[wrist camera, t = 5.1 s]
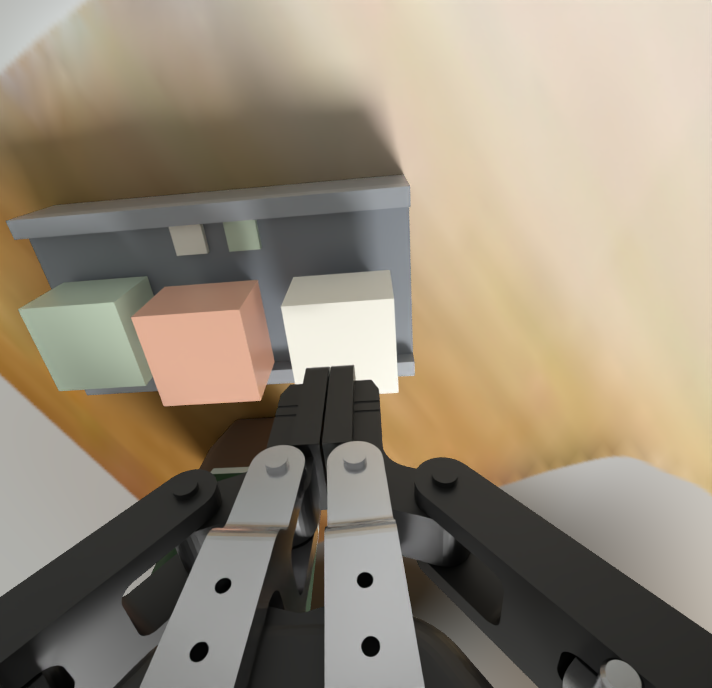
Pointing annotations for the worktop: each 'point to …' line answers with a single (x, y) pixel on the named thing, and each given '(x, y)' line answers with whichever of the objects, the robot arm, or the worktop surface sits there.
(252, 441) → the beer bottle
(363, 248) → the grey tray
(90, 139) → the worktop surface
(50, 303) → the key sage
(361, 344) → the key ivory
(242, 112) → the worktop surface
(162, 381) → the key terracotta
